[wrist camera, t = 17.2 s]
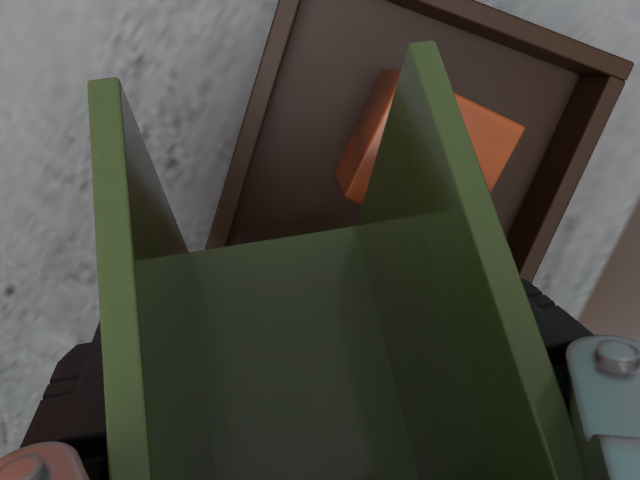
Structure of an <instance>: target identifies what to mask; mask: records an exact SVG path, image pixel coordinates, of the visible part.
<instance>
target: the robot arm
mask: <svg viewBox="0 0 640 480" xmlns="http://www.w3.org/2000/svg"><path fill="white" fill-rule="evenodd" d="M520 278H521V277H520ZM521 281H522V284H523V286H524V289H525V292H526V295H527V297H528V300H529V303H530V306H531V309H532V311H533V314H534V317H535V320H536V322H537V325H538V328H539V331H540V334H541V336H542V339H543V342H544V345H545V347H546V350H547V353H548V356H549V358H550V361H551V364H552V367H553V370H554V372H555V375H556V378H557V381H558V383H559V386H560V389H561V392H562V395H563V397H564V400H565V403H566V406H567V408H568V411H569V414H570V417H571V420H572V423H573V428H574V433H575V437H576V442H577V446H578V451H579V456H580V460H581V465H582V470H583V477H584V480H640V342H639V341H635V340H633V339H629V338H625V337H620V336H613V335H594V334H592V333H591V332H590V331H589V330H587V329H586V328H585V327H584V326H583V325H581V324H580V323H579V322H578V321H576V320H575V319H574V318H573V317H572V316H570V315H569V314H568V313H567V312H565V311H564V310H563V309H562V308H561V307H559V306H558V305H557V306H555V303H554V302H553V301H552V300H551V299H549V298H548V297H547V296H546V295H542V292H541V291H540V290H538V289H537V288H536V287H535V286H534V285H532V284H531V283H530V282H529V281H527V280H526V279H523V278H521ZM0 480H109V474H108V455H107V437H106V418H105V400H104V381H103V363H102V344H101V326H100V322H99V324H98V327H97V330H96V333H95V335H94V338H93V341H92V342H90V343H84V344H78V345H76V346H75V347H74V348H73V349H72V350H70V351H69V352H68V353H67V354H66V355H65V356H64V357H63V358H62V359H61V360H60V361H59V362H58V363H57V365H56V368H55V370H54V372H53V374H52V377H51V379H50V384H48V386H47V388H46V390H45V392H44V395H43V400H41V401H40V404H39V406H38V408H37V410H36V413H35V415H34V417H33V419H32V422H31V424H30V426H29V428H28V431H27V433H26V435H25V437H24V440H23V442H22V444H21V446H20V449H18V450H15V451H13V452H11V453H9V454H7V455H5V456H3V457H2V458H0Z"/></svg>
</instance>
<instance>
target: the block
mask: <svg viewBox="0 0 640 480" xmlns="http://www.w3.org/2000/svg"><path fill="white" fill-rule="evenodd" d="M400 72H401V69H389V70H381V71H380V74H379V76H378V78H377V80H376V82H375V85H374V87H373V89H372V91H371V93H370V96H369V98H368V100H367V102H366V104H365V107H364V109H363V111H362V113H361V115H360V118H359V120H358V122H357V124H356V126H355V128H354V131H353V133H352V135H351V137H350V139H349V142H348V144H347V146H346V148H345V150H344V153H343V155H342V157H341V159H340V161H339V164H338V166H337V168H336V170H335V173H334V174H335V177H336V179H337V181H338V184H339V186H340V188H341V190H342V193H343V195H344V197H345V198H346V199H348V200H351V201H353V202H355V203H358V204H360V205H362V204H363V200H364V197H365V193H366V190H367V186H368V183H369V180H370V176H371V173H372V169H373V166H374V162H375V159H376V155H377V152H378V148H379V145H380V141H381V138H382V134H383V131H384V128H385V124H386V121H387V117H388V114H389V110H390V107H391V103H392V100H393V96H394V93H395V89H396V86H397V82H398V79H399V75H400ZM454 95H455V98H456V101H457V103H458V106H459V109H460V112H461V114H462V117H463V120H464V123H465V126H466V128H467V131H468V134H469V137H470V139H471V142H472V145H473V148H474V151H475V153H476V156H477V159H478V162H479V164H480V167H481V170H482V173H483V175H484V178H485V181H486V184H487V187H488V189H489V192H490V193H491V191H492V189H493V188H494V186H495V184H496V182H497V180H498V178H499V176H500V174H501V173H502V171H503V169H504V167H505V165H506V163H507V161H508V159H509V158H510V156H511V154H512V152H513V150H514V148H515V146H516V145H517V143H518V141H519V139H520V137H521V135H522V133H523V131H524V129H525V127H524V126H523V125H521V124H519V123H517V122H514V121H512V120H510V119H508V118H506V117H504V116H502V115H500V114H498V113H496V112H494V111H492V110H490V109H488V108H485V107H483V106H481V105H479V104H477V103H475V102H473V101H471V100H469V99H467V98H465V97H463V96H461V95H458V94H456V93H454Z"/></svg>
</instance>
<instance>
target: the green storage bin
mask: <svg viewBox="0 0 640 480" xmlns="http://www.w3.org/2000/svg"><path fill="white" fill-rule="evenodd" d="M87 86H88V104H89V123H90V141H91V160H92V178H93V197H94V215H95V234H96V252H97V271H98V289H99V308H100V326H101V344H102V363H103V381H104V400H105V418H106V437H107V455H108V474H109V480H584V477H583V470H582V465H581V460H580V456H579V451H578V446H577V442H576V437H575V433H574V428H573V423H572V420H571V417H570V414H569V411H568V408H567V406H566V403H565V400H564V397H563V395H562V392H561V389H560V386H559V383H558V381H557V378H556V375H555V372H554V370H553V367H552V364H551V361H550V358H549V356H548V353H547V350H546V347H545V345H544V342H543V339H542V336H541V334H540V331H539V328H538V325H537V322H536V320H535V317H534V314H533V311H532V309H531V306H530V303H529V300H528V297H527V295H526V292H525V289H524V286H523V284H522V281H521V278H520V275H519V273H518V270H517V267H516V264H515V261H514V259H513V256H512V253H511V250H510V248H509V245H508V242H507V239H506V236H505V234H504V231H503V228H502V225H501V223H500V220H499V217H498V214H497V212H496V209H495V206H494V203H493V200H492V198H491V195H490V192H489V189H488V187H487V184H486V181H485V178H484V175H483V173H482V170H481V167H480V164H479V162H478V159H477V156H476V153H475V151H474V148H473V145H472V142H471V139H470V137H469V134H468V131H467V128H466V126H465V123H464V120H463V117H462V114H461V112H460V109H459V106H458V103H457V101H456V98H455V95H454V92H453V89H452V87H451V84H450V81H449V78H448V76H447V73H446V70H445V67H444V65H443V62H442V59H441V56H440V53H439V51H438V48H437V45H436V42H435V41H433V40H431V41H422V42H413V43H410V44H409V45H408V48H407V51H406V55H405V58H404V62H403V65H402V69H401V72H400V75H399V79H398V82H397V86H396V89H395V93H394V96H393V100H392V103H391V107H390V110H389V114H388V117H387V121H386V124H385V128H384V131H383V134H382V138H381V141H380V145H379V148H378V152H377V155H376V159H375V162H374V166H373V169H372V173H371V176H370V180H369V183H368V186H367V190H366V193H365V197H364V200H363V204H362V207H361V211H360V214H359V218H358V221H357V225H356V226H351V227H345V228H339V229H333V230H326V231H320V232H314V233H308V234H302V235H295V236H289V237H283V238H277V239H270V240H264V241H258V242H252V243H246V244H239V245H233V246H227V247H221V248H214V249H208V250H202V251H196V252H189V253H188V250H187V248H186V245H185V243H184V240H183V238H182V235H181V233H180V230H179V228H178V225H177V223H176V220H175V218H174V215H173V213H172V210H171V208H170V205H169V203H168V200H167V198H166V195H165V193H164V190H163V188H162V185H161V183H160V180H159V178H158V175H157V173H156V170H155V168H154V165H153V163H152V160H151V158H150V155H149V153H148V150H147V148H146V145H145V142H144V140H143V137H142V135H141V132H140V130H139V127H138V125H137V122H136V120H135V117H134V115H133V112H132V110H131V107H130V105H129V102H128V100H127V97H126V95H125V92H124V90H123V87H122V85H121V82H120V80H119V79H118V78H116V77H113V78H105V79H96V80H90V81H88V84H87Z"/></svg>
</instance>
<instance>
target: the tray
mask: <svg viewBox="0 0 640 480" xmlns="http://www.w3.org/2000/svg"><path fill="white" fill-rule="evenodd" d="M431 40H433V41H435V42H436V45H437V48H438V51H439V53H440V56H441V59H442V62H443V65H444V67H445V70H446V73H447V76H448V78H449V81H450V84H451V87H452V89H453V92H454V93H456V94H458V95H461V96H463V97H465V98H467V99H469V100H471V101H473V102H475V103H477V104H479V105H481V106H483V107H485V108H488V109H490V110H492V111H494V112H496V113H498V114H500V115H502V116H504V117H506V118H508V119H510V120H512V121H514V122H517V123H519V124H521V125H523V126H524V127H525V129H524V131H523V133H522V135H521V137H520V139H519V141H518V143H517V145H516V146H515V148H514V150H513V152H512V154H511V156H510V158H509V159H508V161H507V163H506V165H505V167H504V169H503V171H502V173H501V174H500V176H499V178H498V180H497V182H496V184H495V186H494V188H493V189H492V191H491V193H490V195H491V198H492V200H493V203H494V206H495V209H496V212H497V214H498V217H499V220H500V223H501V225H502V228H503V231H504V234H505V236H506V239H507V242H508V245H509V248H510V250H511V253H512V256H513V259H514V261H515V264H516V267H517V270H518V273H519V275H520V277H521V278H523V279H526V280H527V281H529V282H530V283H532V281H533V279H534V277H535V274H536V272H537V270H538V268H539V266H540V264H541V262H542V260H543V257H544V255H545V253H546V251H547V249H548V247H549V245H550V242H551V240H552V238H553V236H554V234H555V232H556V230H557V228H558V225H559V223H560V221H561V219H562V217H563V215H564V213H565V210H566V208H567V206H568V204H569V202H570V200H571V198H572V195H573V193H574V191H575V189H576V187H577V185H578V183H579V181H580V178H581V176H582V174H583V172H584V170H585V168H586V166H587V163H588V161H589V159H590V157H591V155H592V153H593V151H594V149H595V146H596V144H597V142H598V140H599V138H600V136H601V134H602V131H603V129H604V127H605V125H606V123H607V121H608V119H609V116H610V114H611V112H612V110H613V108H614V106H615V104H616V102H617V99H618V97H619V95H620V93H621V91H622V89H623V87H624V84H625V80H627V78H628V76H629V74H630V72H631V70H632V67H633V65H634V63H633V62H631V61H628V60H626V59H623V58H621V57H618V56H616V55H613V54H611V53H608V52H605V51H603V50H600V49H598V48H595V47H593V46H590V45H587V44H585V43H582V42H580V41H577V40H575V39H572V38H570V37H567V36H564V35H562V34H559V33H557V32H554V31H552V30H549V29H546V28H544V27H541V26H539V25H536V24H534V23H531V22H529V21H526V20H523V19H521V18H518V17H516V16H513V15H511V14H508V13H505V12H503V11H500V10H498V9H495V8H493V7H490V6H487V5H485V4H482V3H480V2H477V1H475V0H279V2H278V5H277V9H276V12H275V15H274V19H273V22H272V25H271V29H270V32H269V35H268V39H267V42H266V46H265V49H264V52H263V56H262V59H261V62H260V66H259V69H258V72H257V76H256V79H255V83H254V86H253V89H252V93H251V96H250V99H249V103H248V106H247V109H246V113H245V116H244V119H243V123H242V126H241V130H240V133H239V136H238V140H237V143H236V146H235V150H234V153H233V156H232V160H231V163H230V167H229V170H228V173H227V177H226V180H225V183H224V187H223V190H222V193H221V197H220V200H219V204H218V207H217V210H216V214H215V217H214V220H213V224H212V227H211V230H210V234H209V237H208V241H207V244H206V247H205V250H208V249H214V248H221V247H227V246H233V245H239V244H246V243H252V242H258V241H264V240H270V239H277V238H283V237H289V236H295V235H302V234H308V233H314V232H320V231H326V230H333V229H339V228H345V227H351V226H356V225H357V221H358V218H359V214H360V211H361V207H362V205H360V204H358V203H355V202H353V201H351V200H348V199H346V198H345V197H344V195H343V193H342V190H341V188H340V186H339V184H338V181H337V179H336V177H335V174H334V173H335V170H336V168H337V166H338V164H339V161H340V159H341V157H342V155H343V153H344V150H345V148H346V146H347V144H348V142H349V139H350V137H351V135H352V133H353V131H354V128H355V126H356V124H357V122H358V120H359V118H360V115H361V113H362V111H363V109H364V107H365V104H366V102H367V100H368V98H369V96H370V93H371V91H372V89H373V87H374V85H375V82H376V80H377V78H378V76H379V74H380V71H381V70H389V69H402V65H403V62H404V58H405V55H406V51H407V48H408V45H409V44H410V43H413V42H422V41H431Z"/></svg>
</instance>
